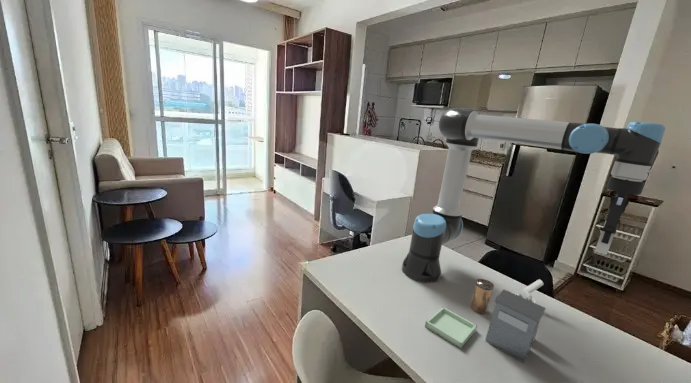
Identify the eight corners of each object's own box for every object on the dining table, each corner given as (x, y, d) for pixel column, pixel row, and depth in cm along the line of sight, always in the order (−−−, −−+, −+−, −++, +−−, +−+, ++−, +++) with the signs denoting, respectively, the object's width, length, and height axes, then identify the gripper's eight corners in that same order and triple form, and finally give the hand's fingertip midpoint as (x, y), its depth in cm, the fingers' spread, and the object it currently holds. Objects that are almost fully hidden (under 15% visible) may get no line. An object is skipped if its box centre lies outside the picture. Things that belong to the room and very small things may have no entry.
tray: (424, 326, 88) (425, 321, 87) (441, 311, 95) (442, 306, 95) (460, 348, 80) (461, 343, 80) (475, 330, 88) (477, 325, 88)
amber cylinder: (467, 308, 99) (473, 282, 96) (473, 302, 102) (479, 276, 100) (483, 316, 95) (490, 290, 92) (489, 310, 99) (496, 284, 96)
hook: (560, 299, 100) (550, 290, 98) (529, 318, 104) (519, 310, 101) (545, 283, 107) (535, 274, 104) (517, 301, 111) (507, 293, 108)
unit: (483, 340, 85) (495, 299, 81) (492, 328, 90) (503, 289, 86) (524, 364, 78) (539, 320, 74) (531, 349, 83) (545, 307, 79)
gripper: (647, 186, 72) (617, 264, 77) (644, 177, 89) (620, 241, 95) (607, 179, 77) (581, 253, 82) (612, 172, 94) (590, 233, 100)
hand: (602, 247), depth 89 cm, fingers open, 13 cm apart
